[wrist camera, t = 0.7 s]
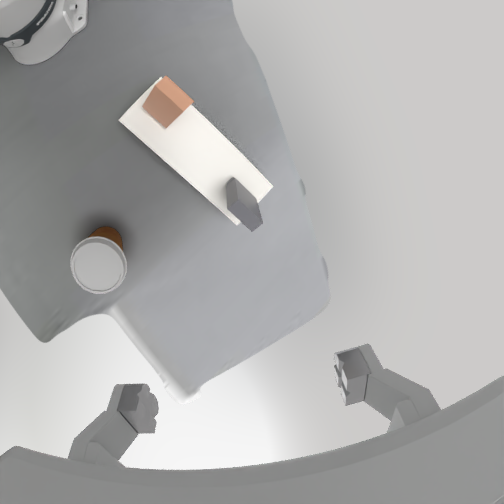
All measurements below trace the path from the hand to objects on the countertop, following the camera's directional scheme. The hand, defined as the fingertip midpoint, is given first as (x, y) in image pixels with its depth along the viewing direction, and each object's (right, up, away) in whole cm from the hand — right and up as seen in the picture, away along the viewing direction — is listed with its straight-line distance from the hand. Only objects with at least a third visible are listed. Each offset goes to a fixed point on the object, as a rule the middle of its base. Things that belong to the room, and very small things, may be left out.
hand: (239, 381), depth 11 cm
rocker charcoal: (-1, +15, +35) cm, 38 cm away
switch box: (-10, +24, +39) cm, 46 cm away
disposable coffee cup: (-27, +7, +39) cm, 48 cm away
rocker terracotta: (-13, +25, +26) cm, 39 cm away
